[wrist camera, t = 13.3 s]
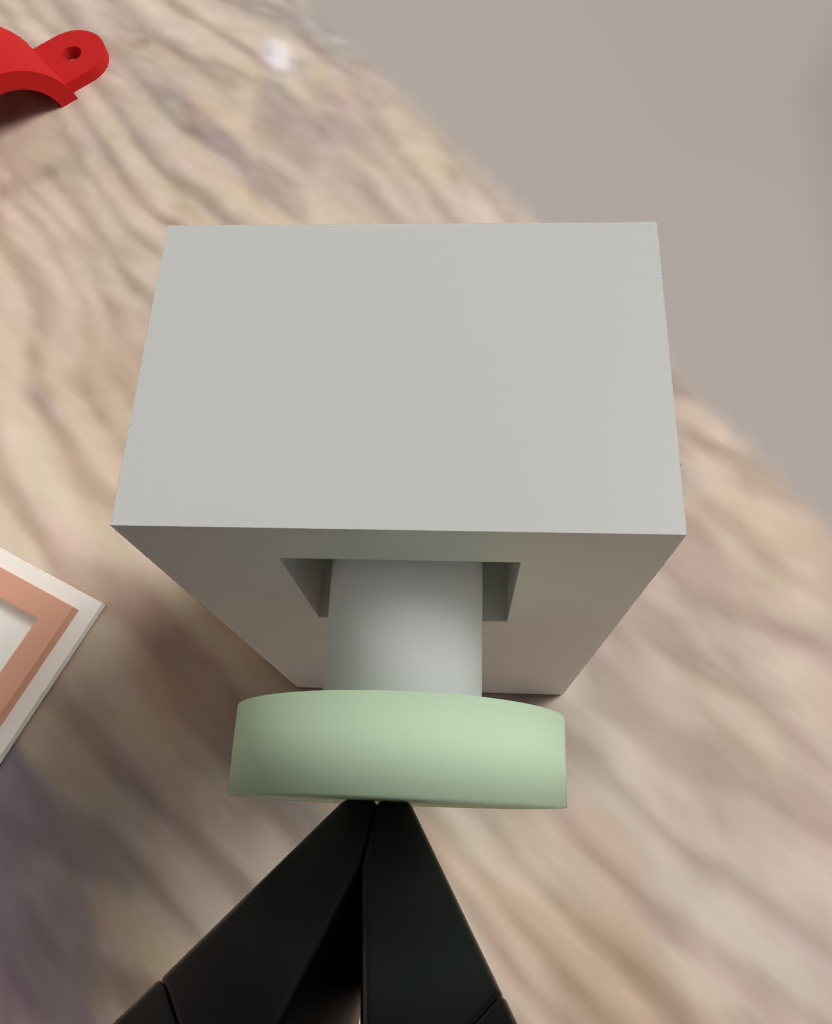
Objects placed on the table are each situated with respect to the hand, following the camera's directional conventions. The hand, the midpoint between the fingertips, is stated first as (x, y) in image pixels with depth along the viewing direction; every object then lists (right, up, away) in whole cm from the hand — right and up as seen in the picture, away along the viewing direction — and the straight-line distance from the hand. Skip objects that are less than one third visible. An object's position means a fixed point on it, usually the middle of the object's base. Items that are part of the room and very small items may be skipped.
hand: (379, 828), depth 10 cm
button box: (+1, +2, +9) cm, 9 cm away
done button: (0, +3, +3) cm, 4 cm away
